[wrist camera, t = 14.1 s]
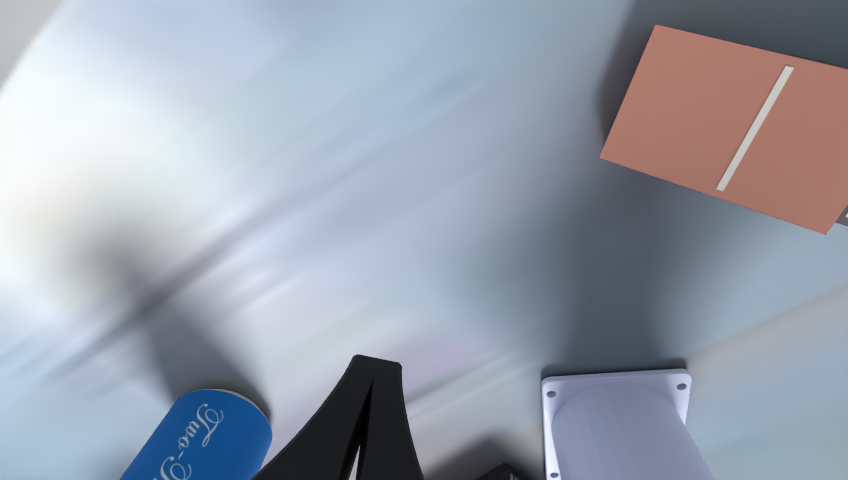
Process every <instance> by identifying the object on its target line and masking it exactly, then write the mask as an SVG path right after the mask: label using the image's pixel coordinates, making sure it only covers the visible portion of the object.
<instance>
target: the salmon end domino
mask: <svg viewBox="0 0 848 480" xmlns="http://www.w3.org/2000/svg"><path fill="white" fill-rule="evenodd" d="M599 158H601V159H604V160H607V161H610V162H613V163H616V164H619V165H622V166H625V167H628V168H631V169H634V170H637V171H640V172H642V173H645V174H648V175H651V176H654V177H657V178H660V179H663V180H666V181H669V182H672V183H675V184H678V185H681V186H684V187H687V188H690V189H693V190H695V191H698V192H701V193H704V194H707V195H710V196H713V197H716V198H719V199H722V200H725V201H728V202H731V203H734V204H737V205H740V206H743V207H745V208H748V209H751V210H754V211H757V212H760V213H763V214H766V215H769V216H772V217H775V218H778V219H781V220H784V221H787V222H790V223H793V224H795V225H798V226H801V227H804V228H807V229H810V230H813V231H816V232H819V233H822V234H825V235H826V234H827V232H828V231H829V230H830V228H831V227H832V225H833V224H834V223H835V221H836V220H837V219H838V217H839V216H840V214H841V213H842V212H843V210H844V209H845V208H846V206H847V205H848V69H843V68H839V67H835V66H831V65H826V64H822V63H818V62H814V61H809V60H805V59H801V58H797V57H792V56H788V55H784V54H780V53H775V52H771V51H767V50H763V49H758V48H754V47H750V46H746V45H741V44H737V43H733V42H729V41H724V40H720V39H716V38H712V37H707V36H703V35H699V34H695V33H690V32H686V31H682V30H678V29H673V28H669V27H665V26H661V25H656V24H655V27H654V29H653V31H652V34H651V36H650V38H649V41H648V43H647V46H646V48H645V50H644V53H643V55H642V57H641V60H640V62H639V64H638V67H637V69H636V72H635V74H634V76H633V79H632V81H631V83H630V86H629V88H628V90H627V93H626V95H625V98H624V100H623V102H622V105H621V107H620V109H619V112H618V114H617V116H616V119H615V121H614V124H613V126H612V128H611V131H610V133H609V135H608V138H607V140H606V142H605V145H604V147H603V150H602V152H601V154H600V157H599Z"/></svg>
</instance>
